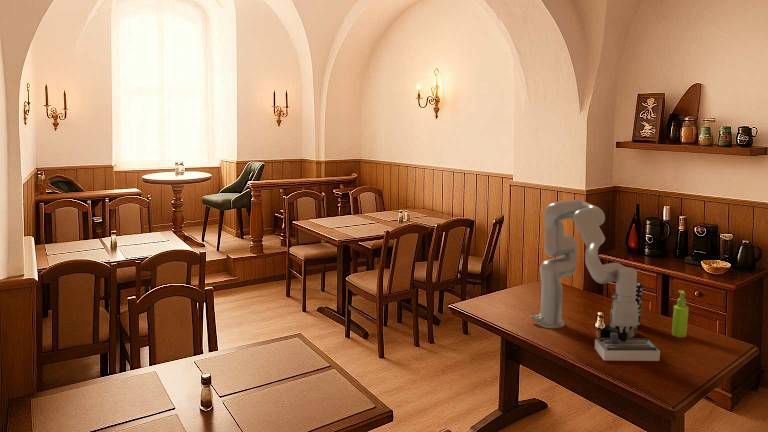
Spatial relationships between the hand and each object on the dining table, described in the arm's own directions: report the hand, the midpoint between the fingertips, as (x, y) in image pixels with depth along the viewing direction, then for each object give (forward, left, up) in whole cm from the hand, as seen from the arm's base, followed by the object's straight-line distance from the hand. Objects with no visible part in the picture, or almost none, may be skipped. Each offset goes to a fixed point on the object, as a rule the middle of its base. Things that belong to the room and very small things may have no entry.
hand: (622, 340), depth 238 cm
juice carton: (+6, +19, -7) cm, 21 cm away
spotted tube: (+16, +34, -6) cm, 38 cm away
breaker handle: (-3, 0, -2) cm, 4 cm away
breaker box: (+2, 0, -6) cm, 6 cm away
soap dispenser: (+33, +22, -6) cm, 40 cm away
